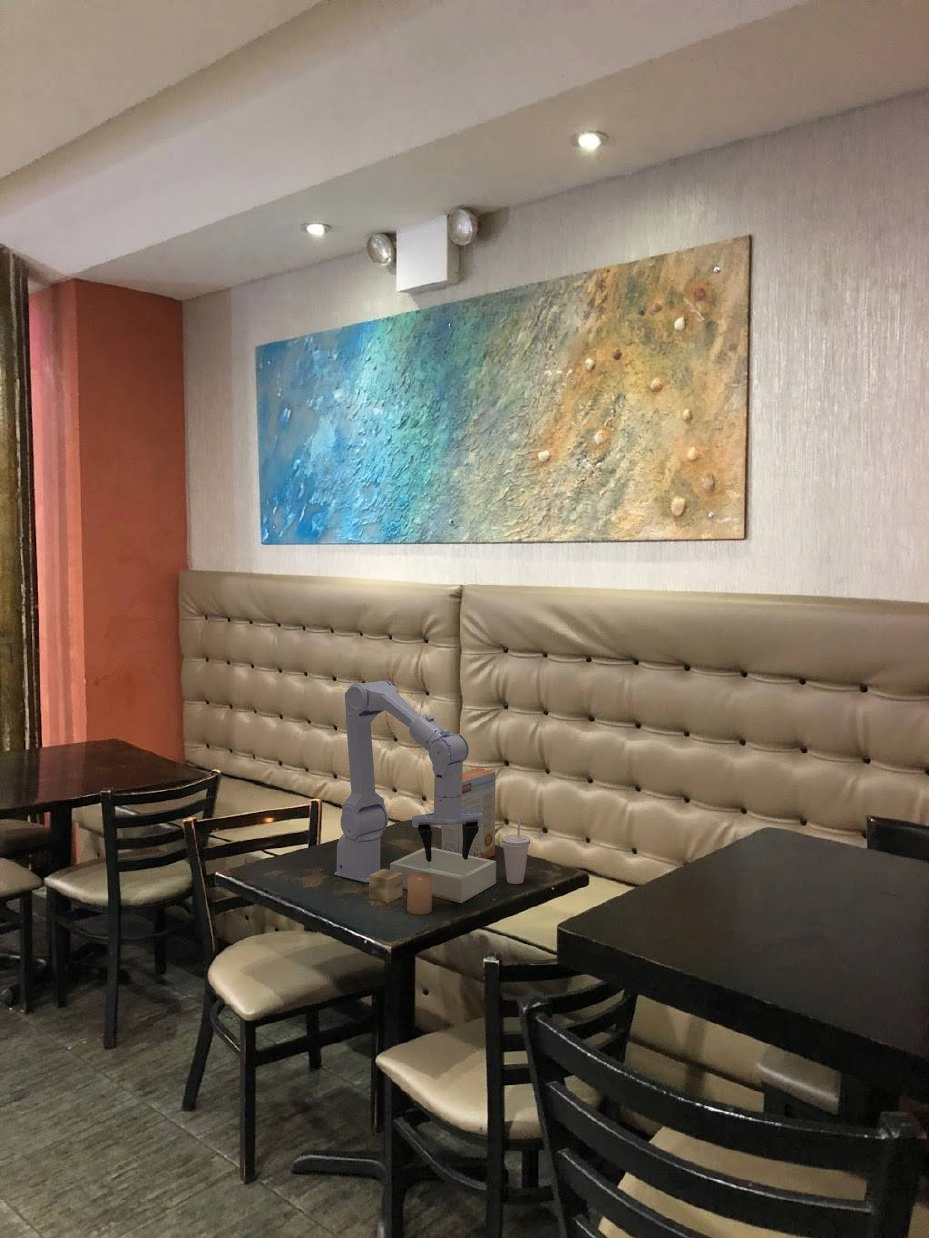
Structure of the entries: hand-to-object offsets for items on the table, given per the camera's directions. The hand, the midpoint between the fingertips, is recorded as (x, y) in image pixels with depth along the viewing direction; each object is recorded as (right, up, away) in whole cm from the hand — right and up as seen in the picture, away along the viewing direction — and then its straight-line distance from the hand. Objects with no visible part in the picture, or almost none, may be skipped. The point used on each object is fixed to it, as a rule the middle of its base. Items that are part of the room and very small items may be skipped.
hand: (446, 859), depth 197 cm
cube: (-13, -9, +5) cm, 17 cm away
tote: (-1, -9, +13) cm, 15 cm away
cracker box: (+4, -8, +29) cm, 31 cm away
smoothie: (+15, -9, +16) cm, 24 cm away
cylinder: (-6, -10, -2) cm, 11 cm away
